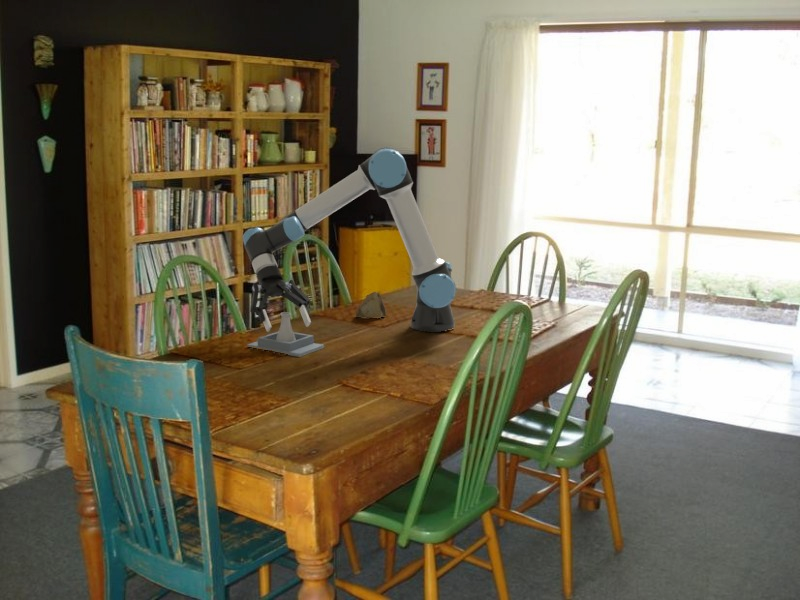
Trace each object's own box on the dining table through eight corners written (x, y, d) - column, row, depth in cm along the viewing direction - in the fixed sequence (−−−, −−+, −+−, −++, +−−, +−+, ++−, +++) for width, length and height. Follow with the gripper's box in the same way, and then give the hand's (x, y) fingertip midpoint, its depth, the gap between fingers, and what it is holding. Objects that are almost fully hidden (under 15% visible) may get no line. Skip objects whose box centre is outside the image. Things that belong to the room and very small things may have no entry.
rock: (348, 313, 327) (373, 312, 322) (353, 291, 330) (378, 290, 326) (362, 326, 335) (386, 325, 331) (366, 305, 339) (390, 304, 335)
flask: (293, 348, 282) (293, 316, 280) (270, 346, 284) (270, 314, 282) (300, 342, 289) (300, 311, 287) (278, 341, 291) (278, 310, 289)
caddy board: (324, 347, 287) (324, 337, 287) (299, 356, 276) (299, 345, 276) (273, 339, 297) (273, 328, 296) (247, 347, 286) (247, 336, 285)
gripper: (298, 275, 302) (320, 328, 293) (227, 281, 288) (248, 338, 279) (305, 261, 297) (328, 315, 288) (234, 267, 283) (255, 324, 274)
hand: (289, 326), depth 283 cm, fingers open, 13 cm apart
